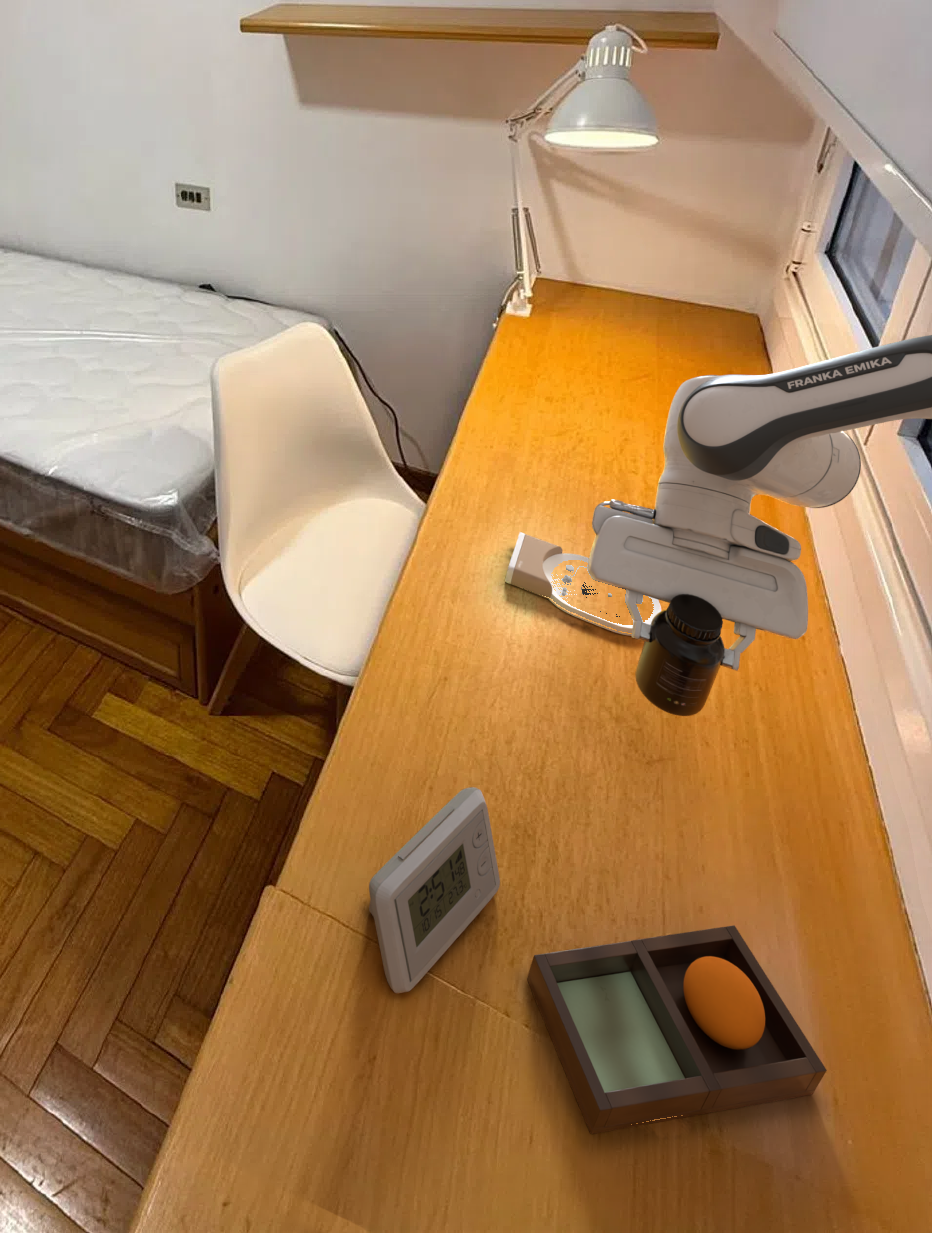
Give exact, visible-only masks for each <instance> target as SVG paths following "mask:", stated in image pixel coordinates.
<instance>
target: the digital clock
mask: <svg viewBox="0 0 932 1233" xmlns="http://www.w3.org/2000/svg"><path fill="white" fill-rule="evenodd" d="M483 794H484V793H483V792H482V790H481V789H479V788H478V787H474V786H471V787H470V786H469V787H466V788H463V789H461V790H460V791H459V792H457V794H455V795H454V796H453V797H452V798H451V799H450V800H449V801H448V802H447V803H446V804H445V805H444V806H443V807H442V808H441V809H439V811H438V812H437V813H436V814H434V816H432V818H431V819H430V820H429V821H427V822H426V823H425V824H424V825H423V826H422V828H421V829H420V830H418V831H417V832H416V833H415V834H414V835H413V836H412V837H411V838H410V839H409V840H408V841H407V842H406V843H405V844H404V845H403V846H402V847H401V848H400V849H399V850H398V851H397V852H396V853H394V855H393V856H392V857H391V858H390V859H389V860H388V861H387V862H386V863H385V864H384V865H383V866H382V867H381V868H380V869H378V871H377V872H376V873H375V874H374V875H373V876H372V877H371V879H370V881H369V883H368V892H369V898H370V899H369V906H368V911H369V913H370V914H371V916H372V917H373V919H374V925H375V929H376V935H377V940H378V946H379V950H380V956H381V960H382V965H383V966H382V967H383V971H384V975H385V979H386V981H387V984H388V986H389V987H390V989H391V990H392V991H393V992H394V993H395V994H403V993H407V992H410V991H411V990H412V989H414V987H416V986H417V985H418V983H419V982H420V981H421V980H422V979H423V977H424V976H425V975H427V973H428V972H429V971H430V969H431V968H433V966H434V965H435V964H436V963H437V962H438V961H439V960H440V958H441V957H442V956H443V955H444V954H445V953H446V952H447V950H448V949H449V948H450V947H451V946H452V945H453V944H454V942H455V941H456V940H457V939H458V938H459V937H460V935H461V934H462V933H463V932H464V931H465V930H466V929H467V927H469V925H470V924H471V923H472V922H473V920H474V919H475V918H476V917H478V915H479V914H480V913H481V911H482V910H483V909H484V908H485V907H486V906H487V905H488V904H489V902H490V901H491V900H492V899H493V898H494V896H495V895H496V894H497V893H498V891H499V888H500V886H501V878H500V872H499V867H498V860H497V855H496V848H495V843H494V838H493V837H494V836H493V832H492V825H491V821H490V815H489V809H488V805H487V802H486V799H485V797H484V795H483Z"/></svg>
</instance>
